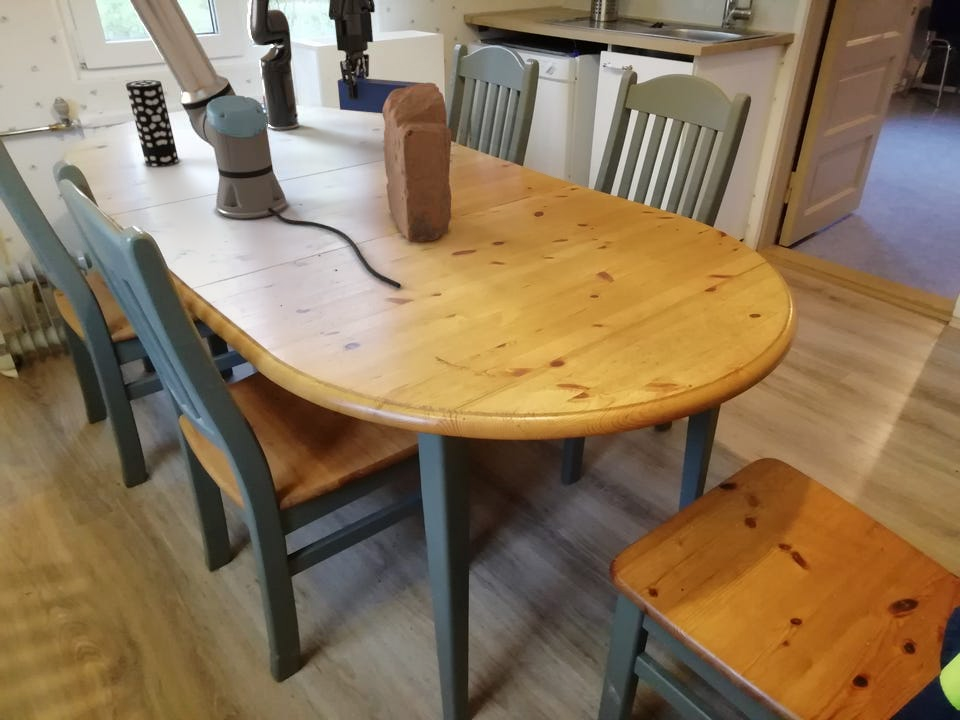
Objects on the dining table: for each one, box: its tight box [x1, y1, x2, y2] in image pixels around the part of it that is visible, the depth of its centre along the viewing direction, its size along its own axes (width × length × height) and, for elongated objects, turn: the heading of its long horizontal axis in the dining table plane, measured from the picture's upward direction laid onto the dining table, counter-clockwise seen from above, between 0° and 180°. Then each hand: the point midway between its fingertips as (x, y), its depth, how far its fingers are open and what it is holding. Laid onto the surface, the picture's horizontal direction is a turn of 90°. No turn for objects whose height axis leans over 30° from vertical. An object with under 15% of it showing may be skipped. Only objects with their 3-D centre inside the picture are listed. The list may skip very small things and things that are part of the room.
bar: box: [337, 76, 419, 114], centre depth 192 cm, size 25×5×8 cm, turn 74°
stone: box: [382, 82, 452, 243], centre depth 143 cm, size 22×11×28 cm, turn 18°
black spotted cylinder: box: [125, 79, 179, 167], centre depth 181 cm, size 8×8×20 cm
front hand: (355, 46), depth 168 cm, fingers open, 13 cm apart
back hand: (357, 96), depth 194 cm, fingers closed on bar, 5 cm apart
